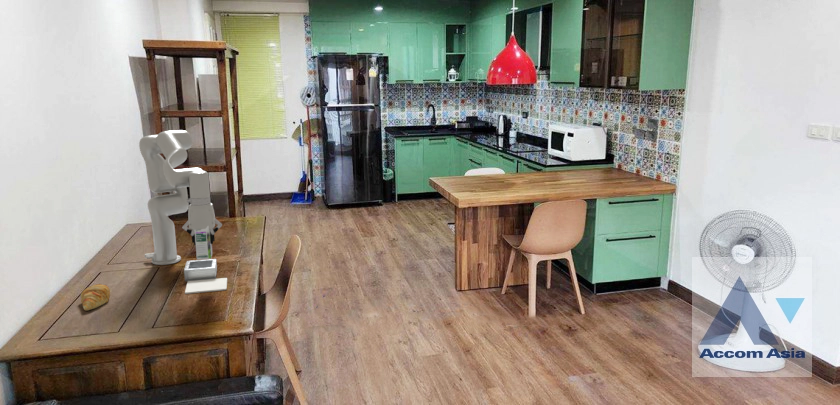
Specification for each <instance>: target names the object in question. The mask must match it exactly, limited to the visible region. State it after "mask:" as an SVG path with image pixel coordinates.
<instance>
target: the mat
mask: <svg viewBox="0 0 840 405" xmlns="http://www.w3.org/2000/svg"><path fill="white" fill-rule="evenodd" d="M186 282H187V283H186V286H185V291H184V294H185V295H189V294H197V293H207V292H208V293H209V292H210V293H211V292H218V291H219V292H221V291H227V289H228V278H227V277H221V278H216V279H206V280H195V281H186Z"/></svg>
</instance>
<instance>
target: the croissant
mask: <svg viewBox="0 0 840 405" xmlns="http://www.w3.org/2000/svg"><path fill="white" fill-rule="evenodd" d="M110 295H111V290H110V287H109V286H108V285H107V284H102V283H98V284H92V285H90V286H88V287H86V288H85V289H84V290H83V291H82V292H81V294H80V303H81V305H82V308H83V310H84V311H90V310H94V309H97V308H99V307H100V306H103V305H104V304H107V303H108V302H109V299H110Z"/></svg>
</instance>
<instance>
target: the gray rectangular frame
mask: <svg viewBox="0 0 840 405" xmlns="http://www.w3.org/2000/svg"><path fill="white" fill-rule="evenodd" d="M217 271H218V262H217V258H211V259H198V260H197V259H196V260H186V262H185V266H184V270H183V273H184V282H188V281H196V280H207V279H217Z"/></svg>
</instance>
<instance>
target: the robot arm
mask: <svg viewBox="0 0 840 405" xmlns="http://www.w3.org/2000/svg"><path fill="white" fill-rule="evenodd" d="M138 144H139V145H138V147H139V152H140V155H141V156H142V158H143V161H144V163H145V168H146V174H147V175H146V176H147V183H148V189H149V190H150V191H151V192H152V193H155V194H161V193H170V192H174V193H170V194H162V195H156V196H152V197H151V198H149V200H148V201H147V209H148V212H149V217H150V220H151V221H150V222H151V229H152V239H153V248H154V252H151V253H144V259H148V260H150V259H151V263H152V264H154V265H158V266H166V265H172V264H176V263H179V262H180V261H181V260H182V257H181V255H178V251H177V238H176V228H175V227H176V226H175V223H174V221H173V220H172V219H170V218H169V216H172V215H178V214H183V213H186V212H188V213H187V217H188V218H187V219H188V220H187V221H186V222H185V223H184V224H183V225H182V227H181V229H183V230H184V231H186V232H187V234H189V235H190V236H191V240H192V241H191V242H192V244H193V245H194V246H196V243H195V232H194V230H197V229H206V227H207V226H209V229H210V232H211V234H210V237H211V244H212V245H213V244H214V242H215V238H216V237H215V234H216V233H217V232H218V231H219V229H221V228H222V227H223V223H222V222H221V221H219V220H218V219H217V218H216V215H215V209H214V204H213V203H212V202H211V190H210V189H211V188H210V176H209V172H207V171H206V170H203V169H202V168H200V167H189V168H188V167H187V168H177V167H178V166H180V165H182V164H184V162H185V161H186V160H187V158H188V151H187V150H189V149H190V148H192V146H193V137H192V136H191V133H190V132H188V131H187V130H183V129H179V130H178V129H177V130H164V131H161V132H159V133H158V134H151V135H150V134H149V135H145V136H142V137H141V138H140V140H139V143H138ZM161 154H163V156H164V157H165V158H164V157H163V156H162V155H161ZM175 168H177V169H175ZM187 188H189V194H188V189H187ZM215 226H216V227H215Z"/></svg>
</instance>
